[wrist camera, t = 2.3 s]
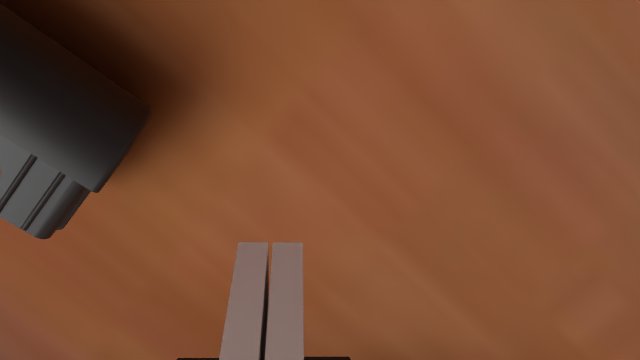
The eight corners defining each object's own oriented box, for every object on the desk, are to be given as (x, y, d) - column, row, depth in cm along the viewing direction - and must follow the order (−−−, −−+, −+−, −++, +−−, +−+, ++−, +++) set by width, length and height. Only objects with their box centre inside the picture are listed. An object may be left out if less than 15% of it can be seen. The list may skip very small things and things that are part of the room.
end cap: (168, 89, 30) (136, 143, 24) (96, 186, 33) (50, 257, 27) (-19, -43, 27) (-109, -20, 21) (-83, 74, 30) (-181, 125, 23)
